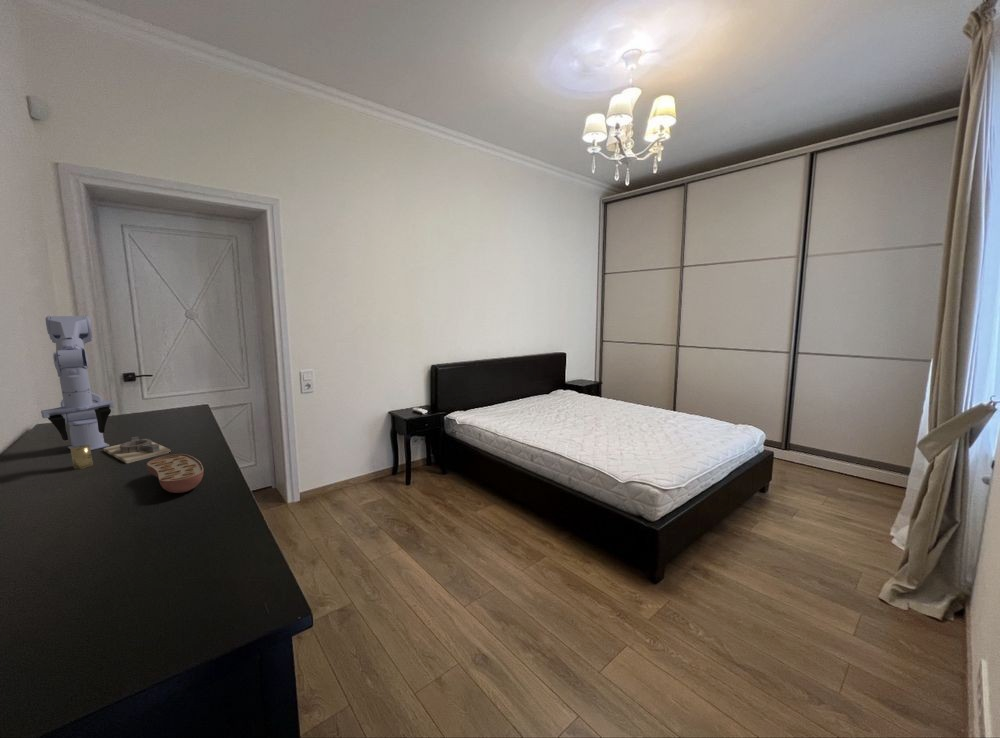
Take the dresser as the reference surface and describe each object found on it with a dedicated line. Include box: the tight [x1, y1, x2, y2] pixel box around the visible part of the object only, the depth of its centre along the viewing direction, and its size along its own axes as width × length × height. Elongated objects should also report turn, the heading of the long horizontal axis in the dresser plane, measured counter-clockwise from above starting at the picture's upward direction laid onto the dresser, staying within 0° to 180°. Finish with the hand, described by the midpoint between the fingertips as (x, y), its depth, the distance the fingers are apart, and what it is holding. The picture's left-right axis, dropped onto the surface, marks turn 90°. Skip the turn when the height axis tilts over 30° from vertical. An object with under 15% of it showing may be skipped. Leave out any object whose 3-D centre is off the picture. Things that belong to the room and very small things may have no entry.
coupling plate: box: [103, 436, 171, 464], centre depth 130 cm, size 20×11×3 cm, turn 59°
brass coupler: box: [70, 445, 94, 470], centre depth 118 cm, size 4×4×6 cm
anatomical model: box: [146, 453, 204, 494], centre depth 108 cm, size 23×10×5 cm, turn 50°
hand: (84, 435), depth 117 cm, fingers open, 7 cm apart
